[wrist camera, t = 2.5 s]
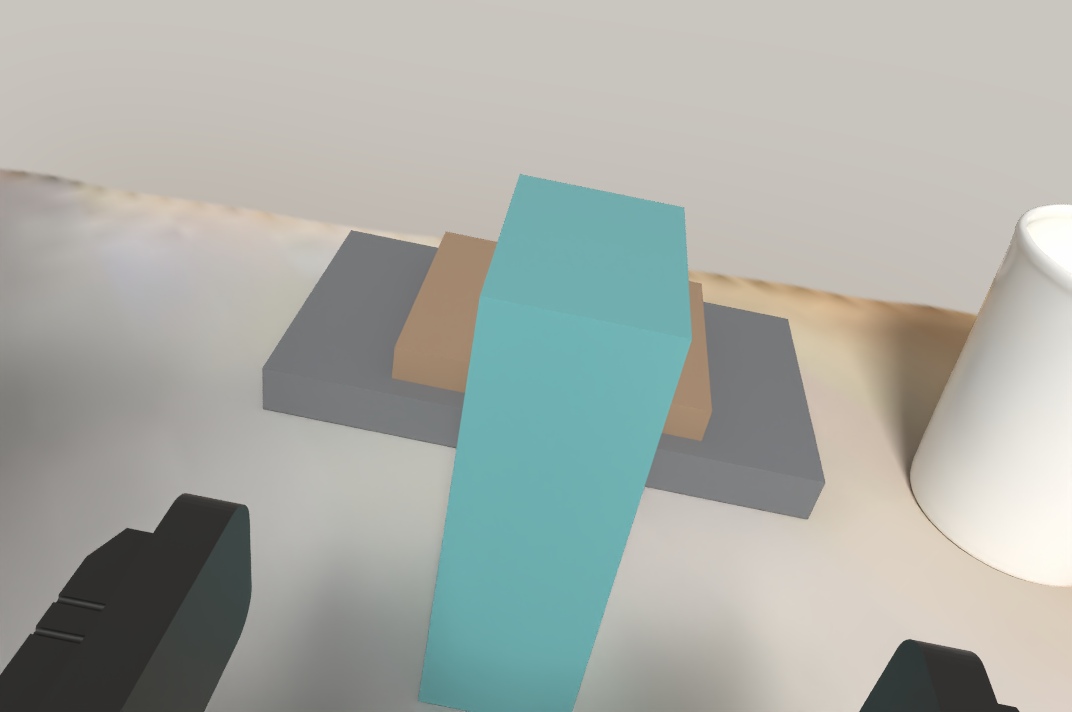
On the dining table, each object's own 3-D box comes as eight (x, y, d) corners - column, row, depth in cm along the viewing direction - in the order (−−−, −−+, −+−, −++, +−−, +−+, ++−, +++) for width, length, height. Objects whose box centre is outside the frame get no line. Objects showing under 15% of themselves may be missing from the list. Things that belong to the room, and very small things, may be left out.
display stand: (263, 408, 35) (262, 335, 33) (349, 265, 45) (352, 202, 43) (807, 519, 35) (839, 453, 33) (774, 351, 45) (797, 293, 43)
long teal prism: (418, 701, 26) (479, 295, 18) (458, 541, 31) (520, 174, 23) (565, 730, 26) (691, 339, 18) (581, 566, 31) (684, 207, 23)
